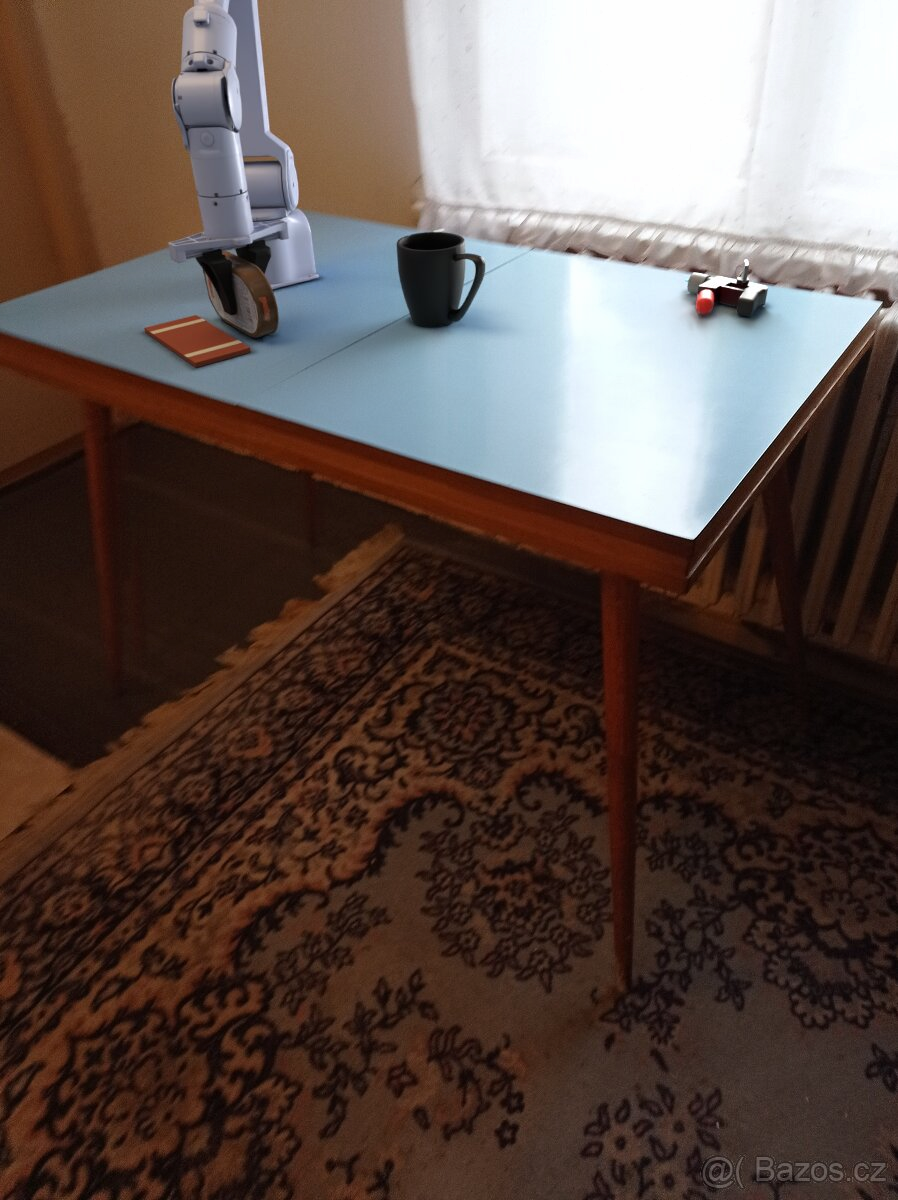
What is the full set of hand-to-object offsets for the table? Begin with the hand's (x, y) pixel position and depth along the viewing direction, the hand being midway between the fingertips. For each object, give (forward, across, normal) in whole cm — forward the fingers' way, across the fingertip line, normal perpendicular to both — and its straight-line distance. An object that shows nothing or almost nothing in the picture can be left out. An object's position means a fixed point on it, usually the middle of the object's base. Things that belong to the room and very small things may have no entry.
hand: (242, 309), depth 112 cm
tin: (+3, 0, 0) cm, 3 cm away
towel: (+2, -7, 0) cm, 7 cm away
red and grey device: (+3, +49, -33) cm, 59 cm away
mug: (+3, +20, -15) cm, 25 cm away
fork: (+3, +35, +7) cm, 36 cm away
